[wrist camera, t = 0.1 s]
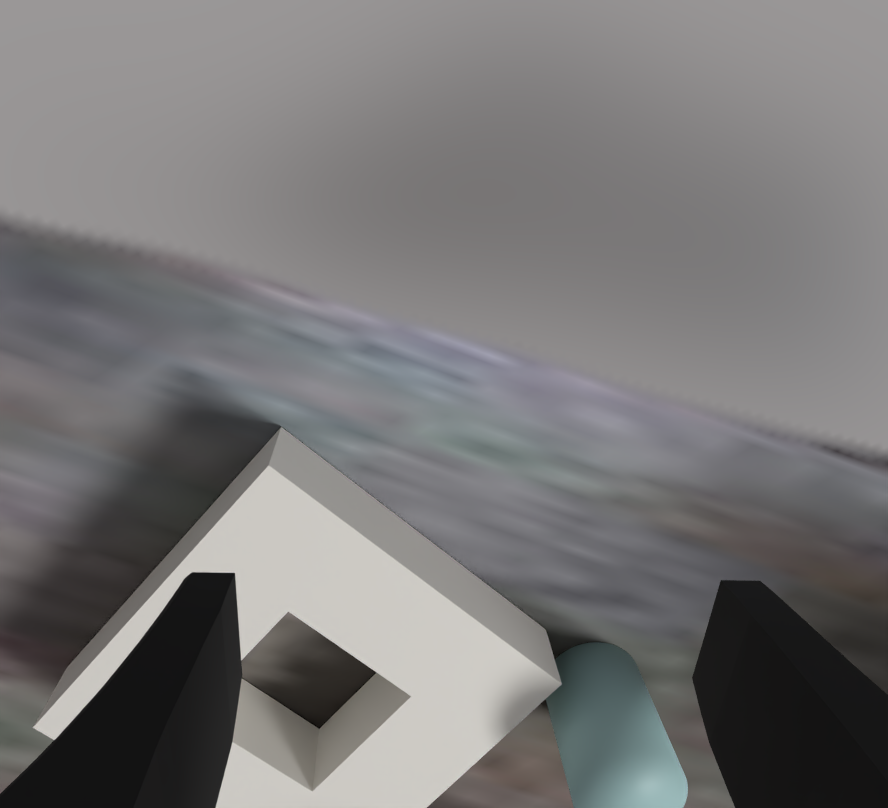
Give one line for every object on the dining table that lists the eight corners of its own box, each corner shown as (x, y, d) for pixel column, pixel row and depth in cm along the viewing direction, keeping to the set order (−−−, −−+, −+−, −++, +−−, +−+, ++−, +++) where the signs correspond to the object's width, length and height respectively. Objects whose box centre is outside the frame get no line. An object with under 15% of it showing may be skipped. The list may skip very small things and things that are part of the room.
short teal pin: (590, 737, 27) (628, 857, 22) (523, 688, 26) (549, 803, 22) (658, 677, 26) (711, 789, 22) (592, 624, 25) (633, 730, 21)
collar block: (331, 830, 27) (326, 898, 25) (66, 667, 25) (33, 727, 22) (545, 629, 25) (562, 684, 23) (281, 427, 22) (268, 465, 20)
